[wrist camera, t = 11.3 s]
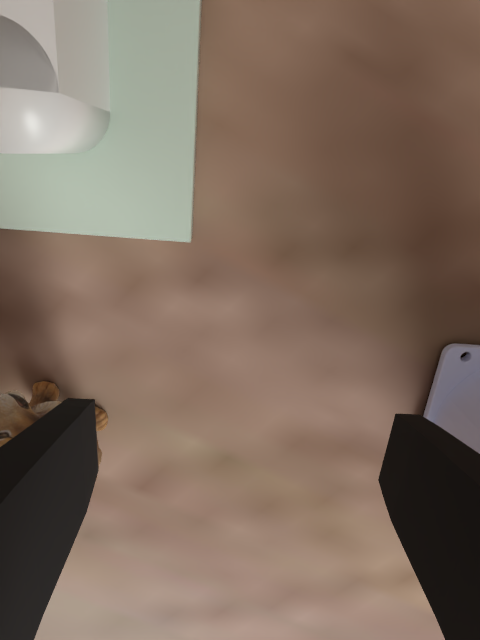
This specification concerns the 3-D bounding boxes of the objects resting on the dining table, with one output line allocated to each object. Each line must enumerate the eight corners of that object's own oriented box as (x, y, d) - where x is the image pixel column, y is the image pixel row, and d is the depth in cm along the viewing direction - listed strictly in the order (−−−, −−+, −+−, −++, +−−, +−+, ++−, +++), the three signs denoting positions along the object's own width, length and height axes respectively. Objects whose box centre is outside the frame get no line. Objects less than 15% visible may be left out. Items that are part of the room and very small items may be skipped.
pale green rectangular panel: (207, -144, 13) (206, -167, 12) (192, 237, 18) (190, 242, 17) (-94, -186, 12) (-119, -213, 12) (-31, 221, 17) (-46, 224, 16)
